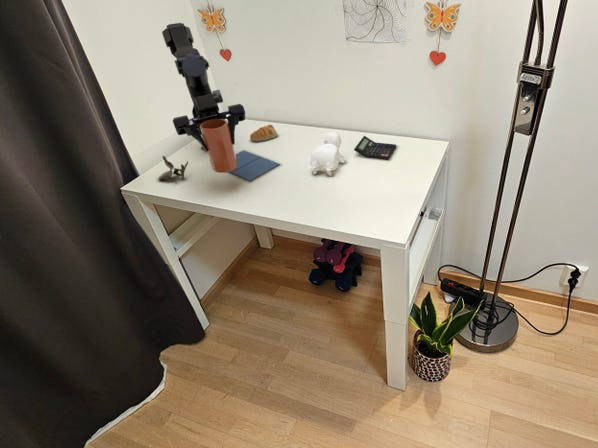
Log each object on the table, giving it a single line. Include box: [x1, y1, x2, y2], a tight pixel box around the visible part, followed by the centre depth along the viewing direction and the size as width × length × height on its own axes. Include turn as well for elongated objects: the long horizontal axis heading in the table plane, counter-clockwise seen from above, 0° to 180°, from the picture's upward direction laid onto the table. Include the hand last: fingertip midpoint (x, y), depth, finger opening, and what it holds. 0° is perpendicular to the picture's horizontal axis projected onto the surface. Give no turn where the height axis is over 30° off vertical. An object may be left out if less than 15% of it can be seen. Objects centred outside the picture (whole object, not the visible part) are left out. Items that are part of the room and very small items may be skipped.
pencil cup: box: [200, 119, 238, 174], centre depth 111 cm, size 7×7×13 cm
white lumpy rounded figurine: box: [310, 131, 346, 177], centre depth 124 cm, size 9×8×15 cm
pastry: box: [249, 124, 278, 143], centre depth 144 cm, size 9×7×4 cm
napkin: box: [228, 150, 280, 182], centre depth 128 cm, size 18×12×1 cm, turn 53°
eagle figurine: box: [158, 155, 189, 181], centre depth 123 cm, size 8×7×9 cm
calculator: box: [353, 135, 397, 161], centre depth 131 cm, size 9×12×3 cm
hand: (220, 147), depth 109 cm, fingers closed on pencil cup, 7 cm apart
